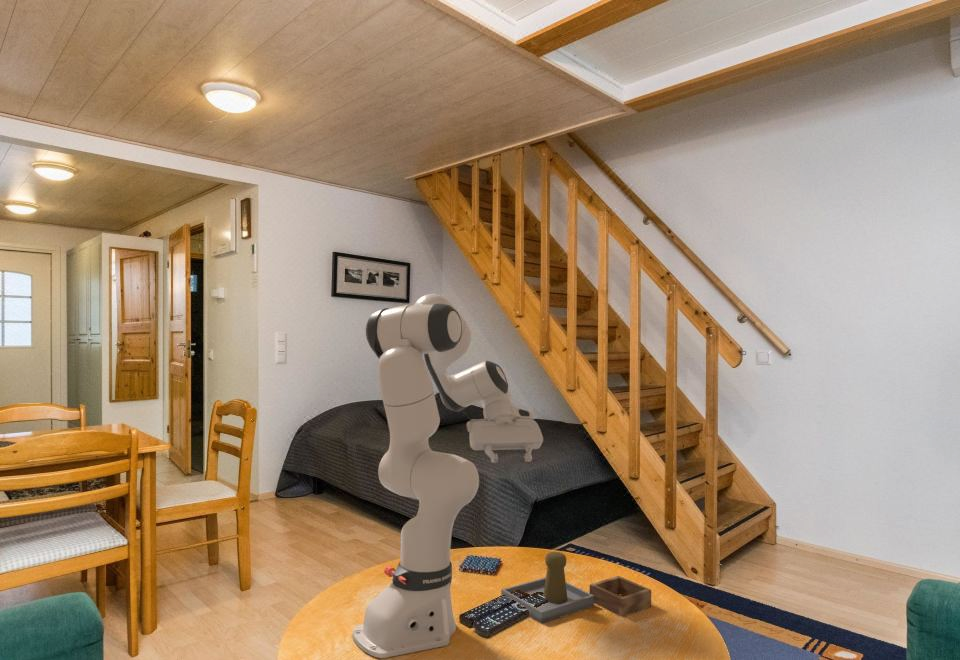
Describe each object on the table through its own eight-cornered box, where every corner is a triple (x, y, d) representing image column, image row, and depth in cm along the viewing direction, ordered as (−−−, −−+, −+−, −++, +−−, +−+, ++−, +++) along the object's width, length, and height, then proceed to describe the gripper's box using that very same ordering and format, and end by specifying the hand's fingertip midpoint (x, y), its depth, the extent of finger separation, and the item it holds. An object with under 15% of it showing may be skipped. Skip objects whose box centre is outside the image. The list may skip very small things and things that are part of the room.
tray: (541, 623, 133) (541, 612, 133) (501, 599, 145) (501, 589, 145) (593, 605, 143) (594, 595, 143) (552, 585, 155) (552, 575, 155)
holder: (622, 617, 137) (622, 599, 137) (589, 600, 146) (589, 584, 146) (651, 606, 143) (651, 589, 143) (618, 591, 152) (618, 575, 152)
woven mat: (495, 577, 160) (495, 570, 160) (458, 573, 163) (458, 566, 163) (503, 564, 170) (503, 557, 171) (467, 560, 173) (468, 553, 173)
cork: (569, 604, 141) (569, 558, 141) (544, 603, 141) (544, 557, 141) (565, 593, 147) (566, 549, 147) (541, 592, 147) (542, 548, 147)
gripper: (467, 412, 158) (477, 454, 149) (537, 412, 164) (551, 452, 155) (462, 426, 163) (471, 469, 153) (531, 426, 169) (543, 466, 159)
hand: (512, 460), depth 154 cm, fingers open, 8 cm apart
